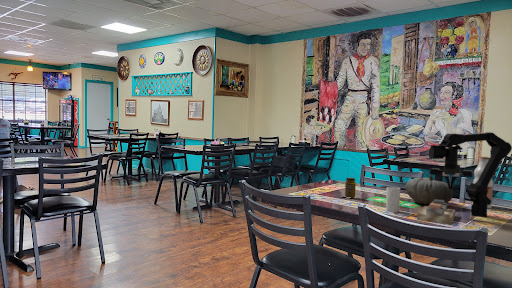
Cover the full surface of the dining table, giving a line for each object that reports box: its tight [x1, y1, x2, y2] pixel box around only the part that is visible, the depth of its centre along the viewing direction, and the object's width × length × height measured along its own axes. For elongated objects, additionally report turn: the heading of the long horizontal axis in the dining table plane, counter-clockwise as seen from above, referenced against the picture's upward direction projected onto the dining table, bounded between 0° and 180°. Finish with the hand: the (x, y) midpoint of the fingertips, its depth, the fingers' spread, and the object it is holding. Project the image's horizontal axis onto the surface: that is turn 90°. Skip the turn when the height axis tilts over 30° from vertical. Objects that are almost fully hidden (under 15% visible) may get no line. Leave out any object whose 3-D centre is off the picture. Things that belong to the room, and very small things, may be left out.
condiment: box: [344, 177, 356, 198], centre depth 223 cm, size 7×8×12 cm
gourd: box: [405, 174, 454, 206], centre depth 212 cm, size 25×25×17 cm
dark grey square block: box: [433, 199, 445, 205], centre depth 183 cm, size 4×4×3 cm
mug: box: [385, 186, 401, 213], centre depth 189 cm, size 10×7×12 cm, turn 145°
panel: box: [416, 202, 456, 225], centre depth 178 cm, size 14×20×6 cm
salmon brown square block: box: [429, 203, 441, 209], centre depth 173 cm, size 4×4×3 cm
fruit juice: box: [471, 156, 494, 209], centre depth 205 cm, size 9×9×28 cm
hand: (450, 189), depth 185 cm, fingers closed
